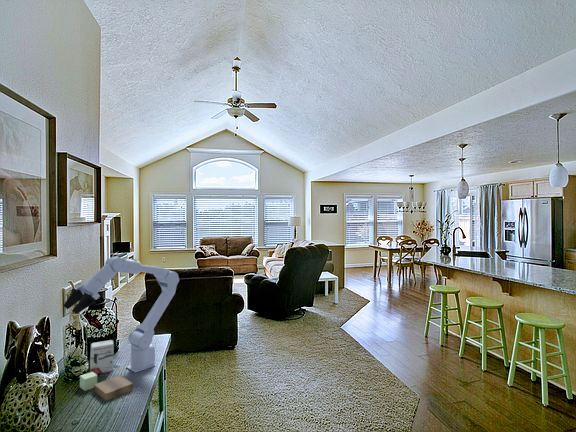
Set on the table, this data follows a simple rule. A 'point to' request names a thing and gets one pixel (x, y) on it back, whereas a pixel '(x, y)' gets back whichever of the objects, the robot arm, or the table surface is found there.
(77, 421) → the table surface
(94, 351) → the ink box
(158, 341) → the table surface
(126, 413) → the table surface
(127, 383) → the walnut block
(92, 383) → the sage cube
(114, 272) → the robot arm
